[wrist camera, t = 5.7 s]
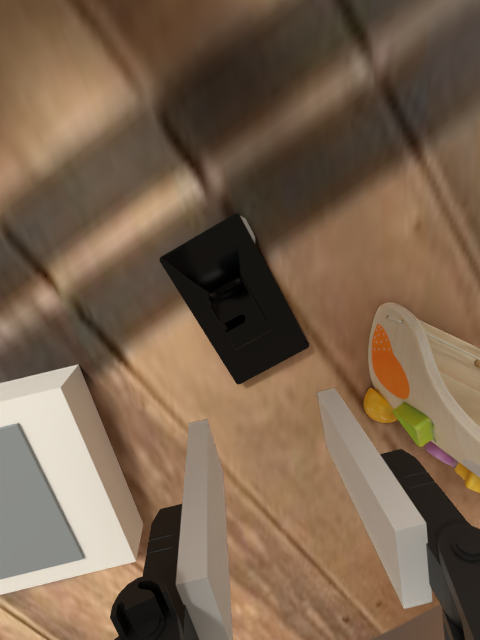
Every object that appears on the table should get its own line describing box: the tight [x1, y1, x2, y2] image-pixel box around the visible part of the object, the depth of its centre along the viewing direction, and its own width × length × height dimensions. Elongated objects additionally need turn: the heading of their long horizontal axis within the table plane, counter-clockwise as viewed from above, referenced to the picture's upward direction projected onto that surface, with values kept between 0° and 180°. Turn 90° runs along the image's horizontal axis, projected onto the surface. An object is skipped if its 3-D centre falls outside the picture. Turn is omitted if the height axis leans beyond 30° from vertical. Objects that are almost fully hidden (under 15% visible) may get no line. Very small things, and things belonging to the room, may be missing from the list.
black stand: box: [160, 213, 309, 384], centre depth 28 cm, size 12×7×5 cm, turn 29°
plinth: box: [0, 364, 143, 595], centre depth 32 cm, size 18×18×4 cm
